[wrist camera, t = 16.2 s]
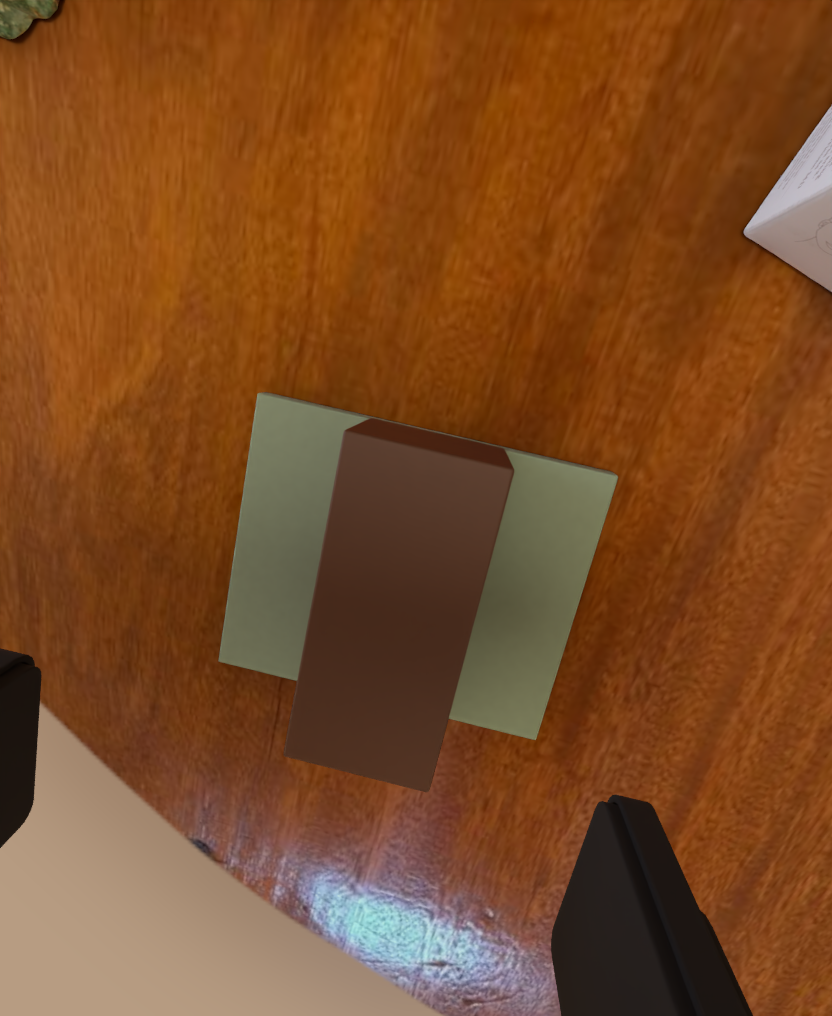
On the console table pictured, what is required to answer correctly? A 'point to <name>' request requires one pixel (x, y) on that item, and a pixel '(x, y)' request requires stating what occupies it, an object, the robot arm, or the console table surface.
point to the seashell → (23, 15)
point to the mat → (508, 586)
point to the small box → (801, 209)
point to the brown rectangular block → (395, 599)
